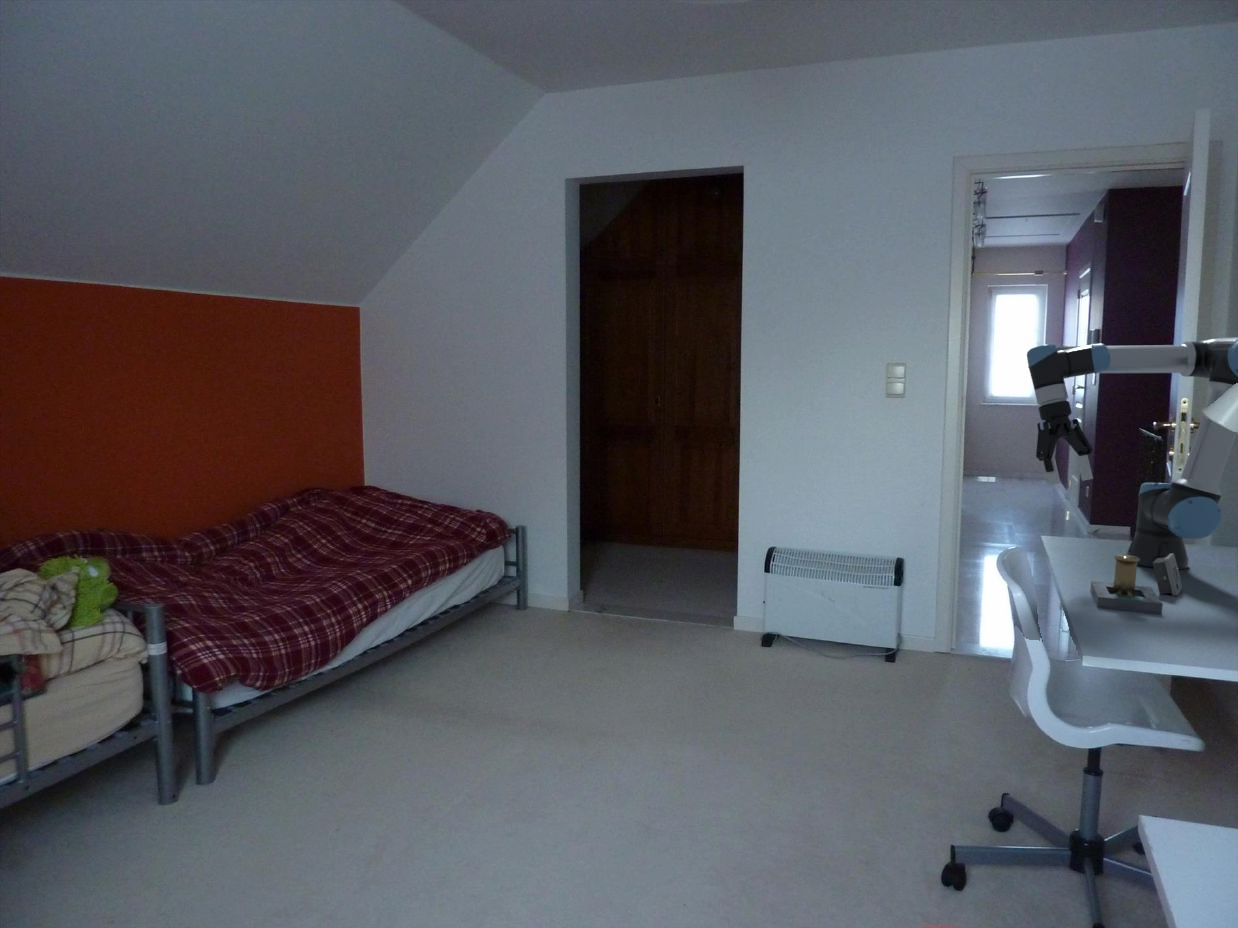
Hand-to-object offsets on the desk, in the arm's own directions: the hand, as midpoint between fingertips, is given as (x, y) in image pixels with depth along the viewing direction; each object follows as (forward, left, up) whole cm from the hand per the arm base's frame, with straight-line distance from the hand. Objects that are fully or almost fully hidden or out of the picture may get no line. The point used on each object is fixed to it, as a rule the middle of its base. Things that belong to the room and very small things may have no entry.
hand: (1071, 482), depth 239 cm
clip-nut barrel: (+8, +24, -25) cm, 36 cm away
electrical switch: (-12, +20, -25) cm, 35 cm away
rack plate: (+8, +24, -25) cm, 35 cm away
